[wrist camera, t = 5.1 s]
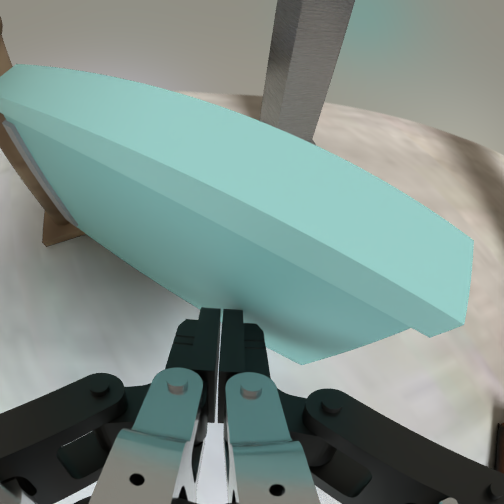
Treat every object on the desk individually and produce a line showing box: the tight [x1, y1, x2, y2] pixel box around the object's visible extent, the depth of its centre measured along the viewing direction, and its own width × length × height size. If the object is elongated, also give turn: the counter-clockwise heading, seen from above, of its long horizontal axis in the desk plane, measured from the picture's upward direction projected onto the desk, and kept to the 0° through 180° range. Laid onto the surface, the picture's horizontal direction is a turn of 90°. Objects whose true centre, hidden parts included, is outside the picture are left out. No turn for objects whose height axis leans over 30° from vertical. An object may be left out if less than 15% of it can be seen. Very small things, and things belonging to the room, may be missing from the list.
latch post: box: [260, 0, 355, 145], centre depth 16 cm, size 4×4×13 cm
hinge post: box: [0, 17, 85, 247], centre depth 10 cm, size 4×4×16 cm
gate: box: [0, 64, 474, 365], centre depth 10 cm, size 16×2×11 cm, turn 61°
